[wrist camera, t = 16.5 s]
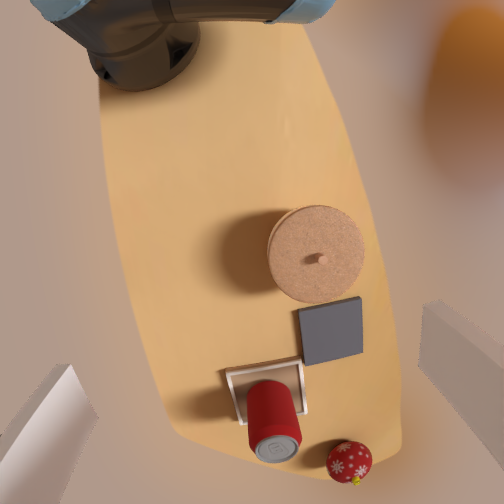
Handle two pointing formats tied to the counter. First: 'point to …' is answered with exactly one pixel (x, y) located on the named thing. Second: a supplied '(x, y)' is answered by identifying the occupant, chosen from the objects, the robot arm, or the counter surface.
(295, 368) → the board
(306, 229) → the lidded jar
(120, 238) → the counter surface
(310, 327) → the pad
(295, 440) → the beverage can
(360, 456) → the christmas ornament
